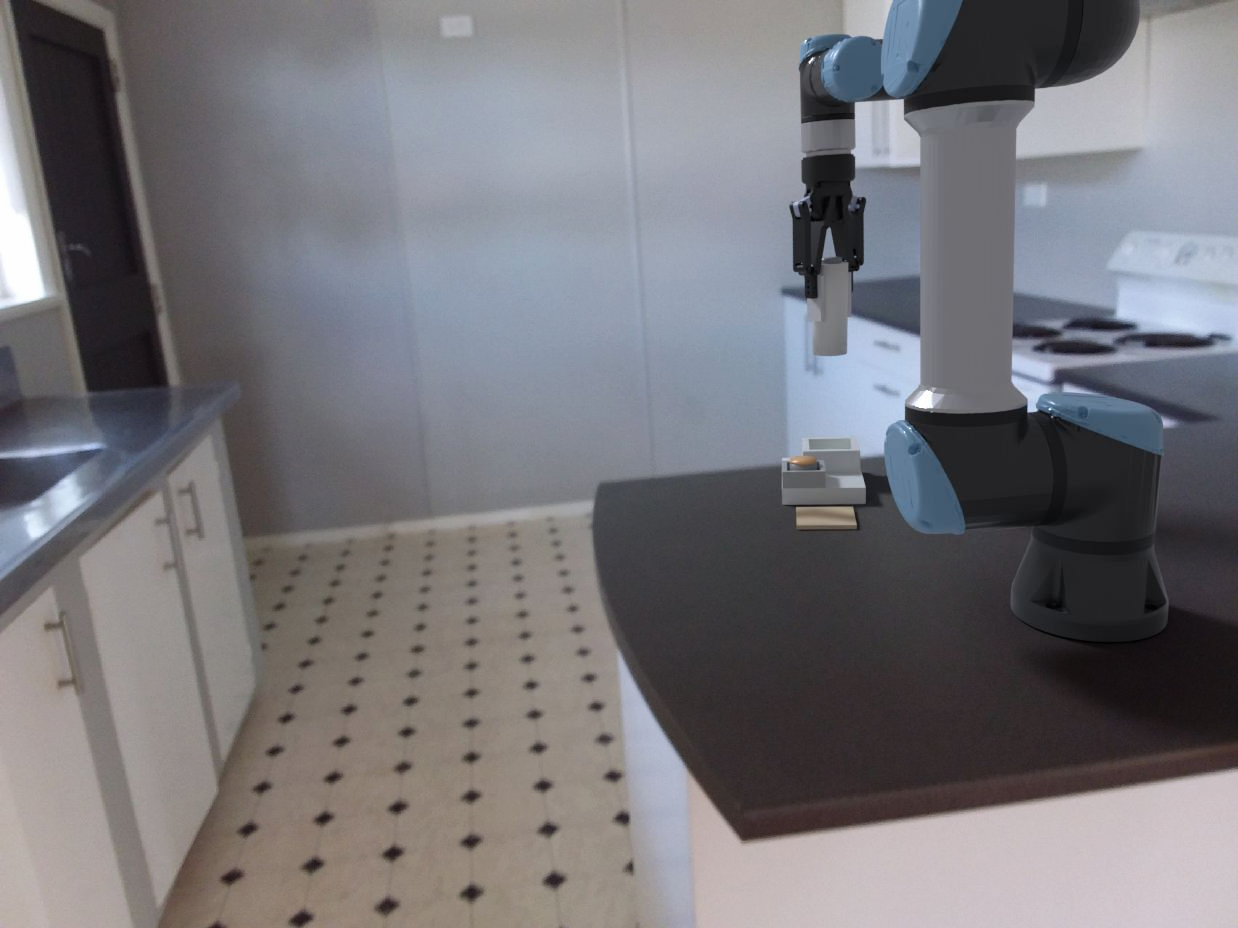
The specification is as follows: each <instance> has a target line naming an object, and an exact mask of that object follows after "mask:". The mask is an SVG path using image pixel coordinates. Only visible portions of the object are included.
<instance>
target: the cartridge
mask: <svg viewBox="0 0 1238 928" xmlns="http://www.w3.org/2000/svg"><path fill="white" fill-rule="evenodd" d="M818 276H824V299H825V321H822V322H818V321H812V354H813V355H814V356H818V357H838V356H845V355H847V354H848V318H849V317H848V262H842V257H836V256H823V257H822V263H821V269H820V274H819V275H818Z"/></svg>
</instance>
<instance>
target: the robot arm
mask: <svg viewBox="0 0 1238 928" xmlns="http://www.w3.org/2000/svg"><path fill="white" fill-rule="evenodd" d="M890 4H891V5H890V7H889V11H888V13H887V14H888V15H887V18H886V21H885V26H884V31H883V36H882V38H876V39H875V38H873V37H871V36H867V35H856V36H851V35H849V34H846V33H830V34H829V33H828V34H822V35H816V36H813V37H808V38H805V39H804V40H803V41H802V42H801V44H800V46H799V47H800V49H799V63H798V70H799V91H800V92H799V94H800V96H799V97H800V142H801V144H800V145H801V147H800V148H801V150H800V151H801V152H802V153H803V154H805V156H804V157H802V159H801V160H800V162H801V164H800V166H801V167H800V169H801V170H800V171H801V182H802V184H805V191H804V194H803V197H802V198H801V199H799V200H798V201H791V202H790V203H789V206H788V207H789V211H790V216H791V218H792V270H793V272H794V273H798V275H799V276H803V278H804V297H805V299H807V301H806V302H807V303H806V305H807V306H806V307H807V308H806V312H807V321H809V322H813V321H818V322H822V321H825V299H824V276H818V275H819V274H820V269H821V263H822V257H824V249H825V245H826V236H827V231H828V229H829V228H830V232H831V238H832V243H833V248H834V254H835V255H834V256H835V257H842V262H848V318H851V317H852V293H853V291H854V272H859V271H860V268H861V266H863V265H864V264H865V238H864V237H865V236H864V235H865V227H864V224H865V223H864V219H865V218H864V217H865V215H864V213H865V210H866V205H867V197H865V196H856V195H854V194H853V190H852V186H851V182H852V181H854V180H855V179H856V156H854V155H855V154H854V153H852V151H853V150H854V149H855V148H856V103H865V102H868V103H869V102H883V101H894V100H895V101H898V100H903V120H904V121H905V122H906V123H907V124H908V125H909V126H910V127H911V128H912V129H913V130H914V131H915V132H916V133H917V134H918V136H919V139H920V142H919V145H920V146H919V147H920V148H919V150H920V156H919V157H920V158H919V161H920V162H919V163H920V165H919V166H920V170H919V173H920V174H919V175H920V180H919V181H920V182H919V183H920V185H919V188H920V189H919V191H920V194H919V196H920V200H919V201H920V203H919V204H920V205H919V206H920V210H919V211H920V216H919V218H920V222H919V223H920V224H919V226H920V227H919V229H920V231H919V233H920V235H919V237H920V238H919V240H920V244H919V245H920V251H919V252H920V254H919V255H920V261H919V262H920V263H919V264H920V265H919V266H920V267H919V268H920V269H919V270H920V271H919V272H920V274H919V275H920V278H919V279H920V283H919V284H920V289H919V290H920V291H919V292H920V296H919V297H920V298H919V299H920V300H919V301H920V302H919V303H920V308H919V309H920V313H919V314H920V316H919V317H920V325H919V326H920V328H919V329H920V333H919V335H920V339H919V341H920V343H919V344H920V345H919V347H920V348H919V349H920V350H919V351H920V355H919V357H920V359H919V360H920V361H919V362H920V364H919V365H920V369H919V372H920V373H919V374H920V375H919V376H920V383H919V384H918V386H917V388H916V389H915V390H914V391H913V392H911V394H910V395H908V397H907V398H906V399H905V401H904V419H903V420H902V419H900V420H896V421H895V422H893V423H891V424H890V425H888V427H887V429H886V431H885V438H884V442H883V443H884V444H883V455H884V456H883V457H884V465H885V470H886V471H885V472H886V477H887V479H888V483H889V487H890V490H891V491H890V492H891V494H892V497H893V499H894V501H895V505H896V506H897V509H898V511H899V512H900V515H902V518H903V519H904V520H905V522H906V523H907V524H908V525H909V526H910V528H912V529H914V530H915V531H917V532H919V533H922V534H926V535H938V534H940V535H941V534H946V535H947V534H953V535H955V536H959V535H960V536H961V535H963V534H964V533H975V532H987V531H998V530H1000V531H1001V530H1010V529H1020V528H1022V529H1023V528H1031V533H1030V540H1029V543H1028V545H1027V548H1026V550H1025V552H1024V555H1023V557H1022V560H1021V561H1020V564H1019V566H1018V569H1017V571H1016V574H1015V575H1014V578H1013V581H1012V583H1011V588H1010V604H1009V605H1010V609H1011V612H1012V613H1013V614H1014V615H1015V616H1016V617H1017V618H1018V620H1021V621H1022V622H1024V623H1026V625H1029V626H1031V627H1032V628H1035V629H1038V630H1040V631H1042V632H1045V633H1048V634H1052V635H1055V636H1060V637H1064V638H1067V639H1071V640H1072V639H1074V640H1078V641H1079V640H1080V641H1087V642H1098V643H1099V642H1100V643H1101V642H1102V643H1121V642H1124V643H1125V642H1133V641H1139V640H1144V639H1147V638H1150V637H1153V636H1155V635H1157V634H1159V633H1161V632H1162V631H1163V630H1164V629H1165V628H1166V627H1167V624H1168V618H1169V606H1170V605H1169V603H1170V602H1169V597H1168V594H1167V590H1166V587H1165V586H1166V585H1165V584H1164V580H1163V576H1162V573H1161V570H1160V566H1159V563H1158V559H1157V555H1156V551H1155V541H1156V530H1157V529H1156V528H1157V519H1158V508H1159V505H1158V504H1159V498H1160V497H1159V496H1160V495H1159V494H1160V487H1161V486H1160V484H1161V476H1162V475H1161V473H1162V463H1163V462H1162V460H1163V457H1164V456H1165V450H1164V422H1163V419H1162V417H1161V415H1160V414H1159V413H1158V412H1157V411H1156V410H1155V409H1154V408H1153V407H1150V406H1148V405H1145V404H1143V403H1139V402H1136V401H1132V400H1128V399H1123V398H1118V397H1113V396H1107V395H1100V394H1094V393H1093V394H1092V393H1085V392H1069V391H1054V392H1053V391H1052V392H1051V391H1050V392H1047V393H1043V394H1040V396H1039V397H1038V399H1037V402H1036V403H1035V408H1036V411H1028V410H1029V409H1028V407H1029V406H1028V405H1029V404H1028V403H1029V401H1028V397H1027V396H1025V395H1024V394H1023V393H1022V392H1021V391H1020V390H1019V389H1018V387H1016V386H1015V384H1014V383H1013V379H1012V375H1013V331H1014V330H1013V329H1014V328H1013V327H1014V324H1013V323H1014V284H1015V283H1014V281H1015V280H1014V278H1015V277H1014V276H1015V274H1014V273H1015V227H1016V226H1015V223H1016V222H1015V221H1016V219H1015V218H1016V217H1015V216H1016V179H1017V178H1016V174H1017V172H1016V168H1017V167H1016V166H1017V128H1018V127H1019V125H1020V123H1021V122H1022V121H1023V120H1024V118H1026V116H1028V114H1029V113H1030V112H1031V111H1032V110H1033V109H1034V108H1035V104H1036V89H1048V88H1058V87H1064V86H1065V87H1066V86H1071V85H1075V84H1079V83H1082V82H1086V81H1089V80H1091V79H1093V78H1095V77H1097V76H1099V75H1101V74H1103V73H1105V72H1106V71H1108V70H1109V69H1110V68H1112V67H1113V66H1115V64H1117V63H1118V61H1120V59H1122V58H1123V56H1124V55H1125V54H1126V53H1127V51H1128V49H1129V48H1130V47H1131V46H1132V43H1133V40H1134V39H1135V37H1136V35H1137V31H1138V28H1139V24H1140V16H1141V7H1140V5H1141V4H1140V0H892V2H891V3H890Z"/></svg>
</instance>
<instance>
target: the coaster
mask: <svg viewBox="0 0 1238 928" xmlns="http://www.w3.org/2000/svg"><path fill="white" fill-rule="evenodd" d="M795 518H796V519H795V520H796V521H795V522H796V530H804V531H805V530H857V529H858V524H857V520H856V515H855V511H854V506H796V507H795Z"/></svg>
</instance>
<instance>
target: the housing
mask: <svg viewBox="0 0 1238 928" xmlns="http://www.w3.org/2000/svg"><path fill="white" fill-rule="evenodd" d="M801 444H802V445H801V446H802V449H801V451H802V452H801V453H802V454H801V456H812V457H815V458H817V470H799V471H790V458H791V457H782V458H781V504H782V506H787V505H790V506H793V505H794V506H795V505H796V506H797V505H800V506H801V505H803V506H804V505H805V506H806V505H811V506H812V505H866V504H867V503H866V502H867V497H866V495H867V491H866V489H867V488H866V487H867V486H866V484H865V481H864V476H863V472H862V467H861V448H860V445H859V442H858V437H857V436H829V437H828V436H826V437H825V436H823V437H802V438H801Z"/></svg>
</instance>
